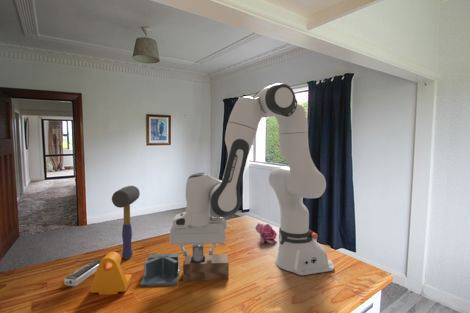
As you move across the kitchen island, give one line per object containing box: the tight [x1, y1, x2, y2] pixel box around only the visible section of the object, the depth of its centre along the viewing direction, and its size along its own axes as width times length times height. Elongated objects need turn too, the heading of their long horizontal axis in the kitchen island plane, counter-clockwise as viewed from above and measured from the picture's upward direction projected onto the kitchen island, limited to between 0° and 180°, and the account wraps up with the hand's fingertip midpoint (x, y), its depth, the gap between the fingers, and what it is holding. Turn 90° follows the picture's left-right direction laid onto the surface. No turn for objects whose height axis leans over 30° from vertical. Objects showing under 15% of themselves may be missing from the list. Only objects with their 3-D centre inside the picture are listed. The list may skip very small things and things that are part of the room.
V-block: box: [139, 252, 182, 288], centre depth 93 cm, size 12×12×6 cm
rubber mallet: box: [111, 185, 141, 260], centre depth 107 cm, size 12×8×30 cm, turn 0°
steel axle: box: [191, 244, 204, 263], centre depth 94 cm, size 4×4×11 cm
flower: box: [255, 223, 278, 245], centre depth 127 cm, size 11×10×10 cm
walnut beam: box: [182, 253, 230, 282], centre depth 95 cm, size 16×7×6 cm, turn 95°
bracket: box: [89, 251, 133, 296], centre depth 86 cm, size 11×7×12 cm, turn 95°
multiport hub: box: [64, 259, 102, 287], centre depth 95 cm, size 4×14×2 cm, turn 169°
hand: (198, 254), depth 94 cm, fingers open, 8 cm apart
